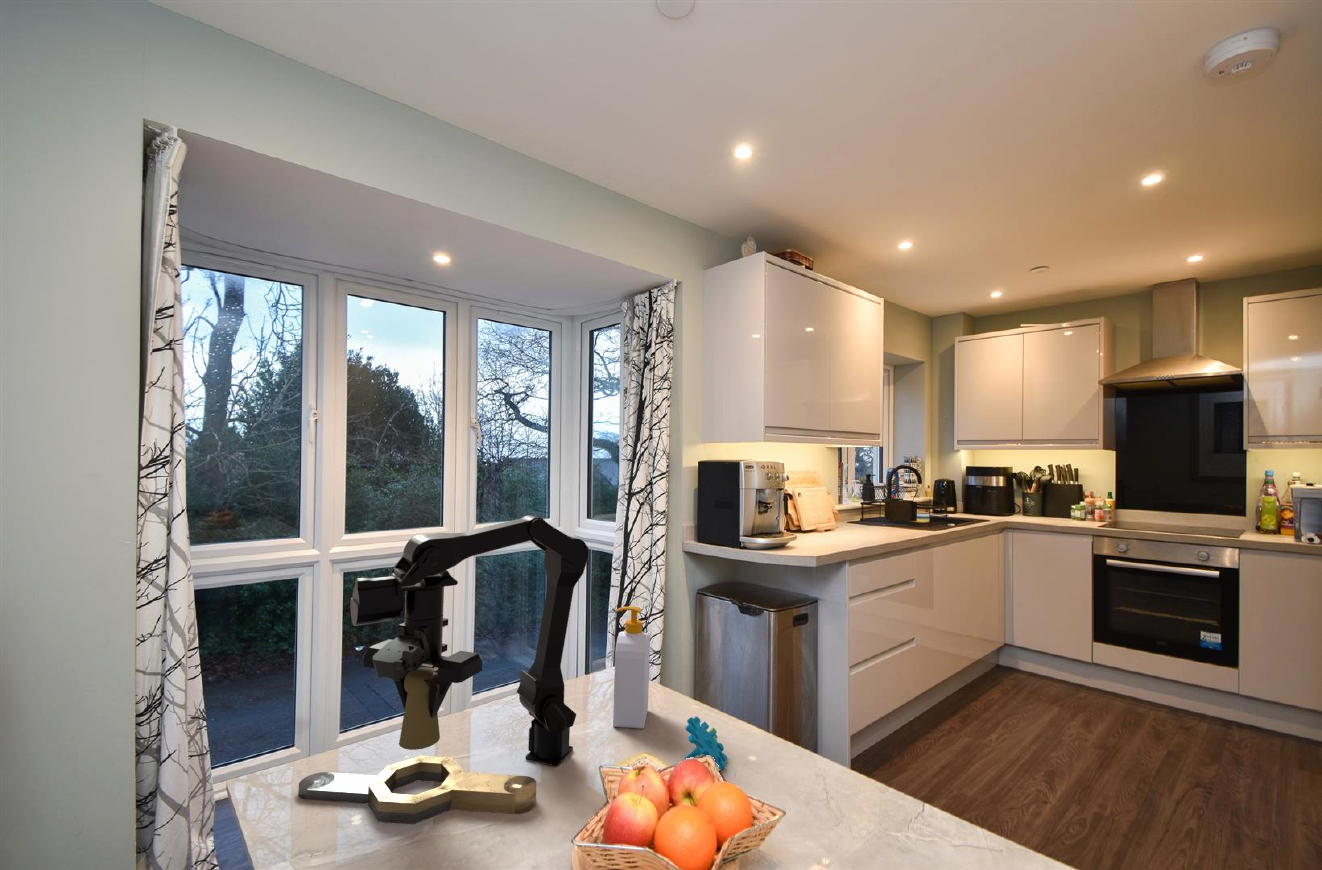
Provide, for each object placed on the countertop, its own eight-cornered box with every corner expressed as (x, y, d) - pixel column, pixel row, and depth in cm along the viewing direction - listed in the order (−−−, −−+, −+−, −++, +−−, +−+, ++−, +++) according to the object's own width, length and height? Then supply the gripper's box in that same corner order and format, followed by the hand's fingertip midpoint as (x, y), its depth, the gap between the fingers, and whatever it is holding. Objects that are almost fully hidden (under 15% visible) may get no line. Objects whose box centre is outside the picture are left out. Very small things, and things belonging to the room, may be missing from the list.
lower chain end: (472, 777, 99) (473, 768, 99) (439, 826, 86) (439, 815, 86) (327, 767, 101) (327, 758, 101) (272, 814, 88) (272, 804, 88)
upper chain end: (545, 781, 99) (546, 763, 99) (523, 832, 86) (523, 811, 86) (397, 772, 100) (398, 754, 100) (353, 820, 87) (354, 799, 87)
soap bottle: (615, 708, 127) (619, 601, 128) (648, 710, 127) (651, 603, 127) (608, 727, 118) (612, 612, 119) (643, 730, 118) (647, 614, 118)
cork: (448, 736, 95) (450, 667, 95) (418, 753, 90) (421, 680, 90) (420, 727, 98) (423, 660, 98) (390, 744, 92) (392, 673, 92)
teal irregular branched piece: (720, 775, 99) (684, 722, 103) (695, 796, 100) (660, 743, 104) (737, 754, 109) (703, 706, 113) (713, 773, 110) (681, 725, 114)
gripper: (336, 622, 89) (332, 726, 89) (438, 638, 83) (434, 749, 83) (391, 604, 100) (388, 697, 100) (485, 617, 94) (482, 716, 94)
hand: (420, 714), depth 94 cm, fingers closed on cork, 4 cm apart
